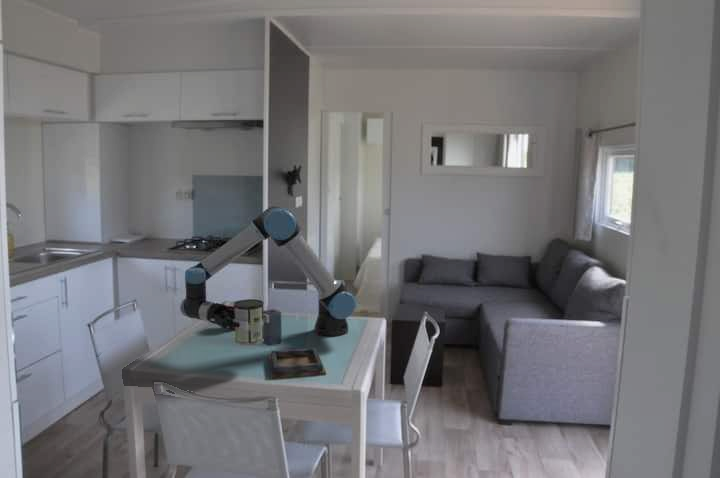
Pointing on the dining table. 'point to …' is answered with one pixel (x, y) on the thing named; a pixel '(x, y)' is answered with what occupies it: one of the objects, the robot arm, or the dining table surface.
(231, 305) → the plastic cup
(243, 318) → the coffee can
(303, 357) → the tray
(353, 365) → the dining table surface
